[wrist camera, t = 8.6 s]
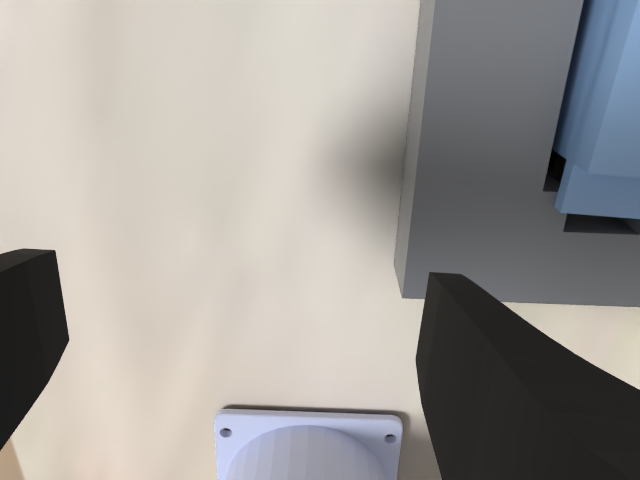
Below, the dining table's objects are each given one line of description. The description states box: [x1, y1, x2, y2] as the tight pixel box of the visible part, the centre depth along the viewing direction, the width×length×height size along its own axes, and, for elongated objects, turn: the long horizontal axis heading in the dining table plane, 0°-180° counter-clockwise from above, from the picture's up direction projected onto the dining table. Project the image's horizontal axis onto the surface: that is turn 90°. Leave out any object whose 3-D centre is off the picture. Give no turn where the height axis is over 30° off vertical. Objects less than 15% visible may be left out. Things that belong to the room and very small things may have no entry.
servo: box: [551, 0, 640, 219], centre depth 15 cm, size 8×3×5 cm, turn 176°
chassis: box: [394, 0, 640, 307], centre depth 16 cm, size 14×12×2 cm
